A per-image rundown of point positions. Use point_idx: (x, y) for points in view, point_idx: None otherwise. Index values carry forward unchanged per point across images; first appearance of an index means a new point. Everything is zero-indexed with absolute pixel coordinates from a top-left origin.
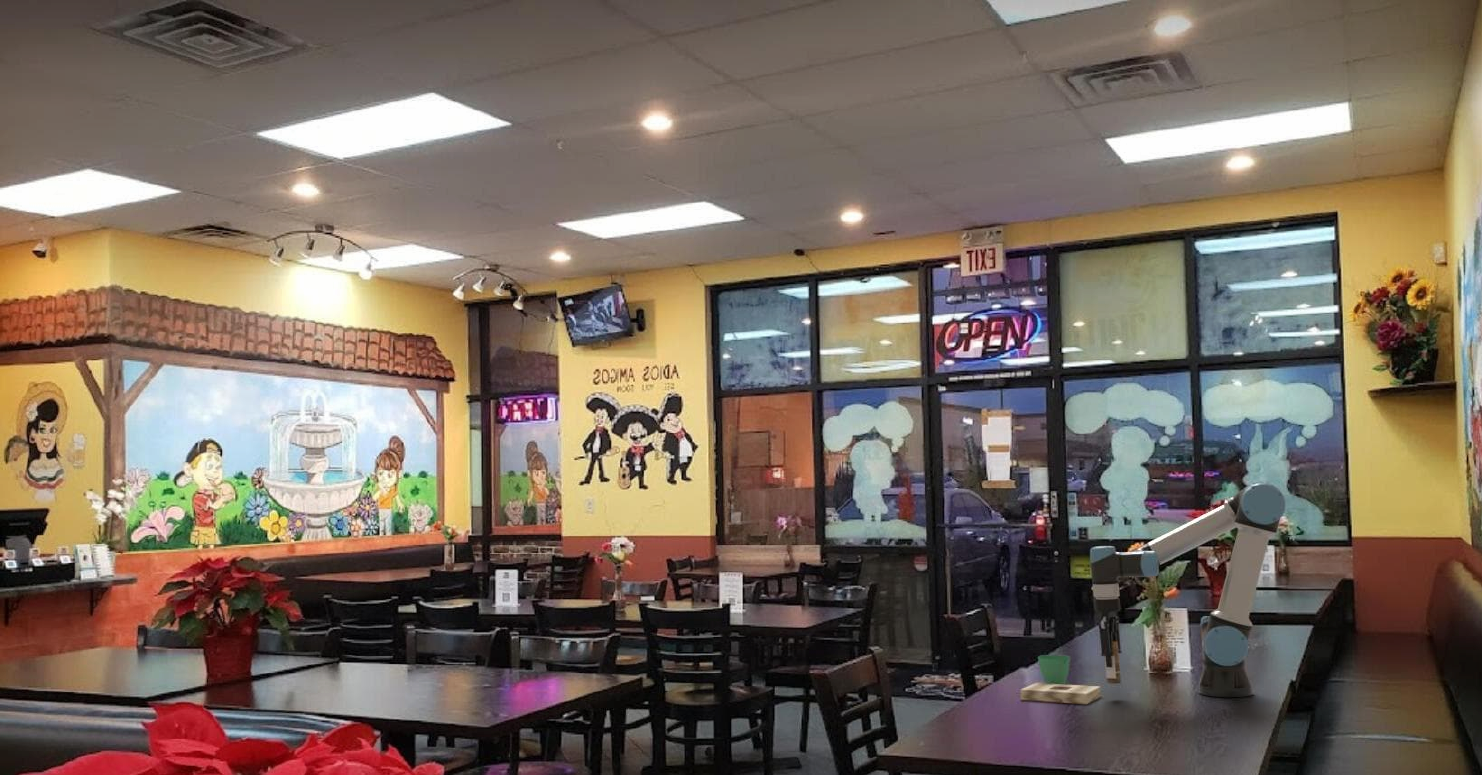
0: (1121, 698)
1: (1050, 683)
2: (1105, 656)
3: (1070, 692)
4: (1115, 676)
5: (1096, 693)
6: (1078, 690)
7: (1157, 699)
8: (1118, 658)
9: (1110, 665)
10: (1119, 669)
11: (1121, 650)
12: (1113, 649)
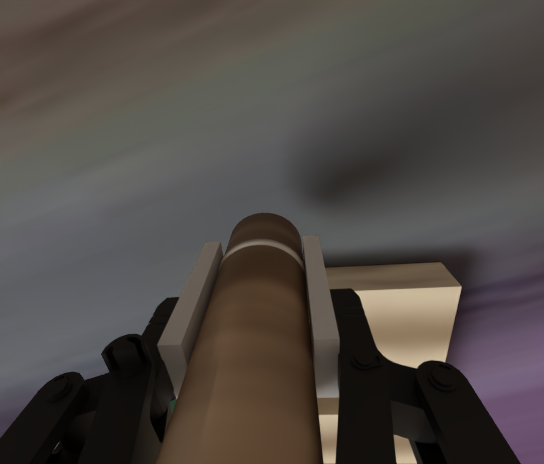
0: (253, 191)
1: None
2: (336, 386)
3: (441, 342)
4: (316, 240)
5: None
6: (382, 333)
7: (192, 20)
8: (253, 301)
9: (358, 299)
10: (259, 250)
11: (104, 353)
12: (304, 400)
